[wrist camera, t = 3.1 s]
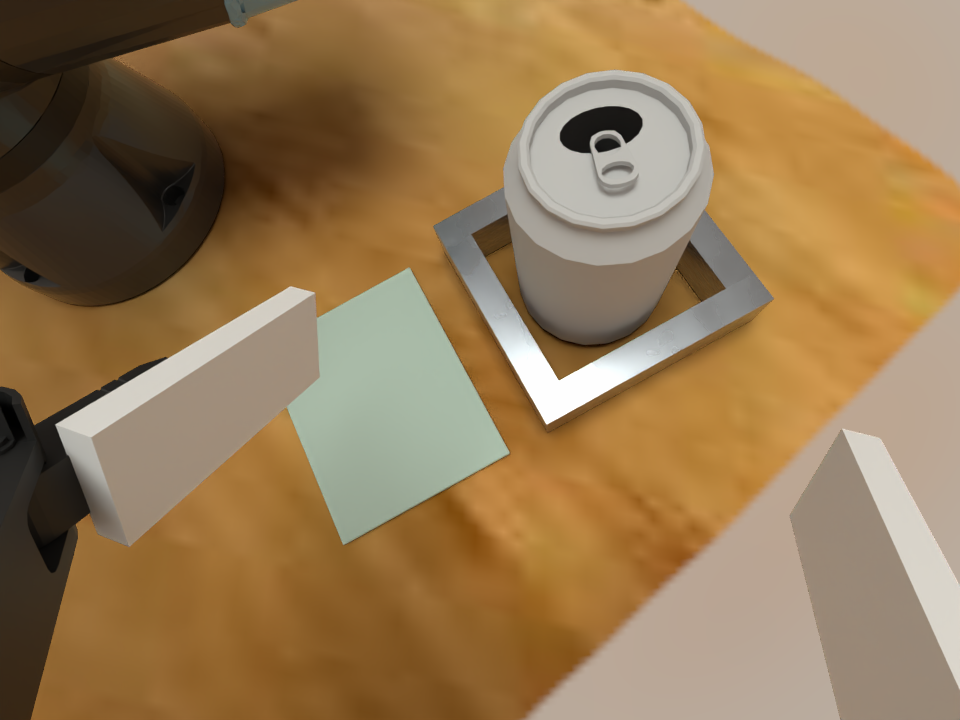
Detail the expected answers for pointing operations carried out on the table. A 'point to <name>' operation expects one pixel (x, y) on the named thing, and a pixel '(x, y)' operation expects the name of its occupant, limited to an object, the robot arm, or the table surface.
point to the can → (604, 201)
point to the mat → (389, 409)
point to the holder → (723, 309)
